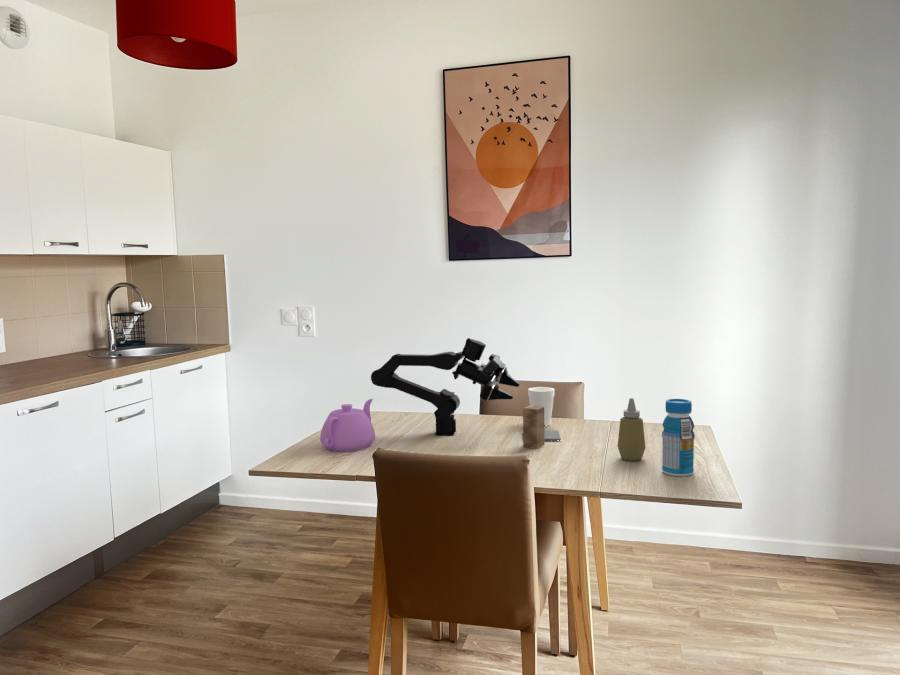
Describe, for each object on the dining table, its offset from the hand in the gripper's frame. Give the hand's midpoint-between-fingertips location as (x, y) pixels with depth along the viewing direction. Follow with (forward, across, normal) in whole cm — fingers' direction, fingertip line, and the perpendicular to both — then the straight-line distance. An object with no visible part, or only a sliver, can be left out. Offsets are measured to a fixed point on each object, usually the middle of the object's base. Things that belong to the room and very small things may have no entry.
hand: (515, 391), depth 233 cm
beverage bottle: (+50, -33, -18) cm, 63 cm away
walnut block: (+13, -16, +6) cm, 21 cm away
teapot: (-42, -30, +27) cm, 58 cm away
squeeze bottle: (+40, -23, -9) cm, 47 cm away
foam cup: (+13, +14, +16) cm, 25 cm away
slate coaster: (+14, -4, +10) cm, 17 cm away
